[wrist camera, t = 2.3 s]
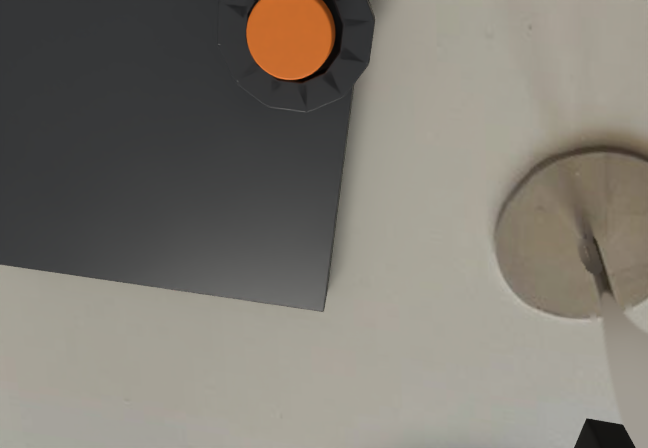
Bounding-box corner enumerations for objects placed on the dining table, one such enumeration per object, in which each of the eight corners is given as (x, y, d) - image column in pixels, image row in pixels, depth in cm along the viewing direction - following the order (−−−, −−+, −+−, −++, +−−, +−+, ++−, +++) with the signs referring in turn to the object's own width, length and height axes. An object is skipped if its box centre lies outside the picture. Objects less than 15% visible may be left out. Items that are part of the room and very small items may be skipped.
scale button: (340, -7, 21) (336, -6, 20) (330, 78, 23) (326, 85, 21) (258, -17, 22) (247, -17, 20) (253, 68, 23) (243, 74, 21)
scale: (383, -40, 24) (383, -44, 21) (336, 297, 30) (331, 333, 27) (-40, -91, 25) (-103, -102, 21) (4, 248, 31) (-39, 279, 28)
